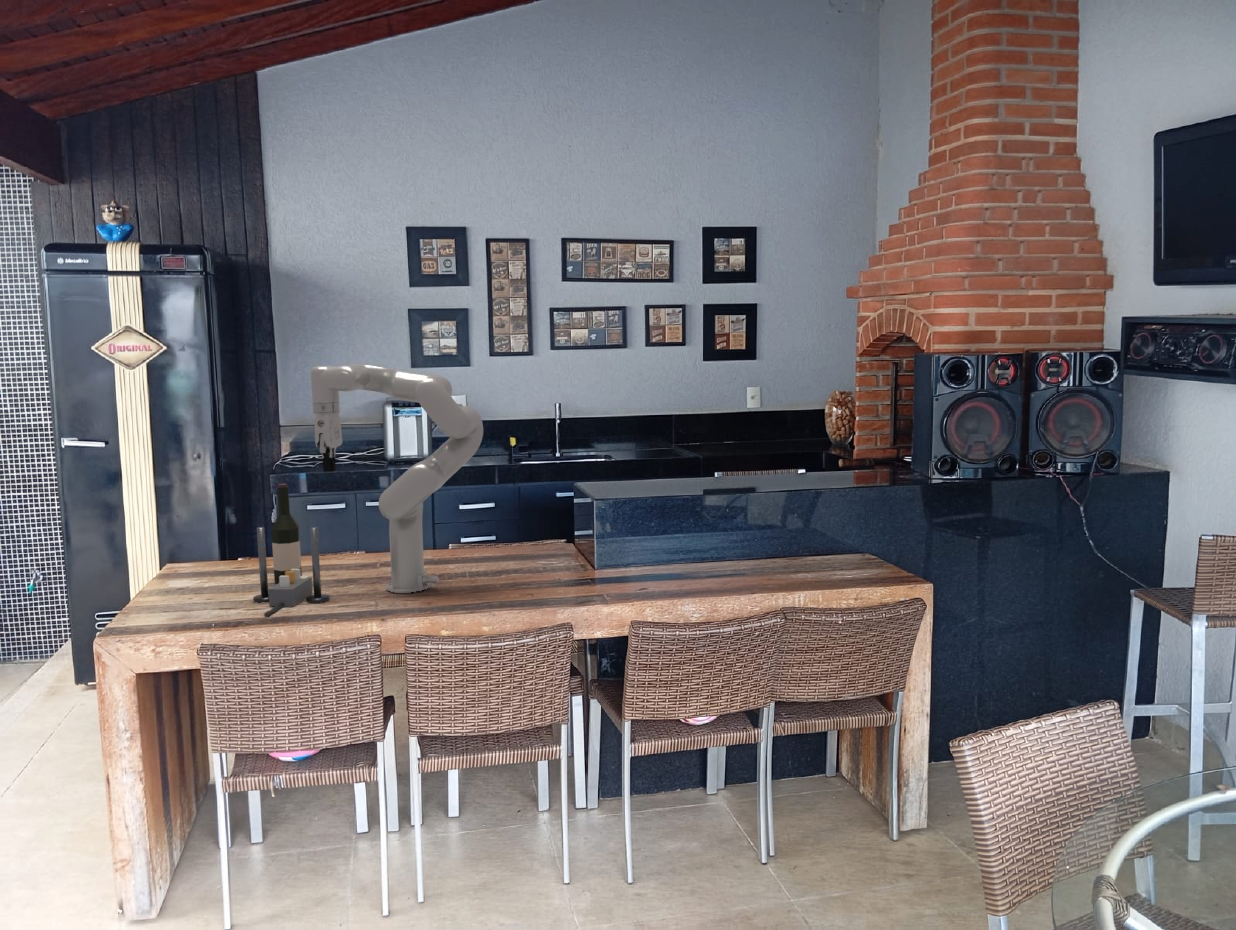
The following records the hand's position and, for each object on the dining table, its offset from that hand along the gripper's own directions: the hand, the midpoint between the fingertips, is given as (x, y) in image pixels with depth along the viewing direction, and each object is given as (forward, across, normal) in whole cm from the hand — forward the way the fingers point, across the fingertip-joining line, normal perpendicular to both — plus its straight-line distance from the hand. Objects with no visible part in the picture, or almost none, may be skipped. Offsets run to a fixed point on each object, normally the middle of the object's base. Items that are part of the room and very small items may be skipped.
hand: (329, 471), depth 315 cm
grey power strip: (+35, -19, +8) cm, 41 cm away
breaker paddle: (+30, -14, +8) cm, 34 cm away
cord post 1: (+35, -14, +16) cm, 41 cm away
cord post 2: (+35, -14, 0) cm, 38 cm away
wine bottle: (+35, +8, +18) cm, 40 cm away
